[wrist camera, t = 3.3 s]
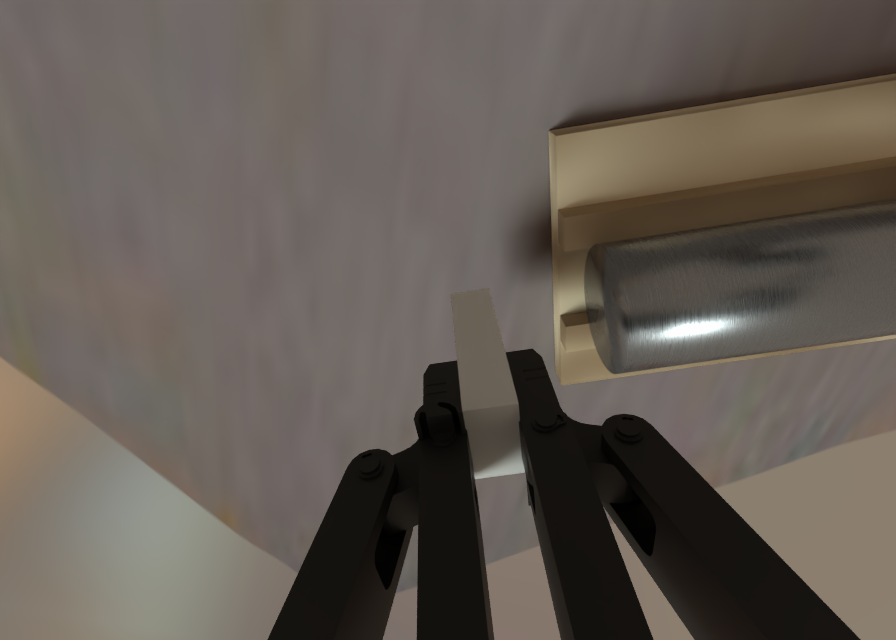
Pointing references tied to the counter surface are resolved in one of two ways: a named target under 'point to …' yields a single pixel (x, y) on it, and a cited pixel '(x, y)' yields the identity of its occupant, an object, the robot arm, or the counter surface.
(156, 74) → the counter surface
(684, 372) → the counter surface
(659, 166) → the rail
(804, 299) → the tube
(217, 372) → the counter surface
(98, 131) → the counter surface
